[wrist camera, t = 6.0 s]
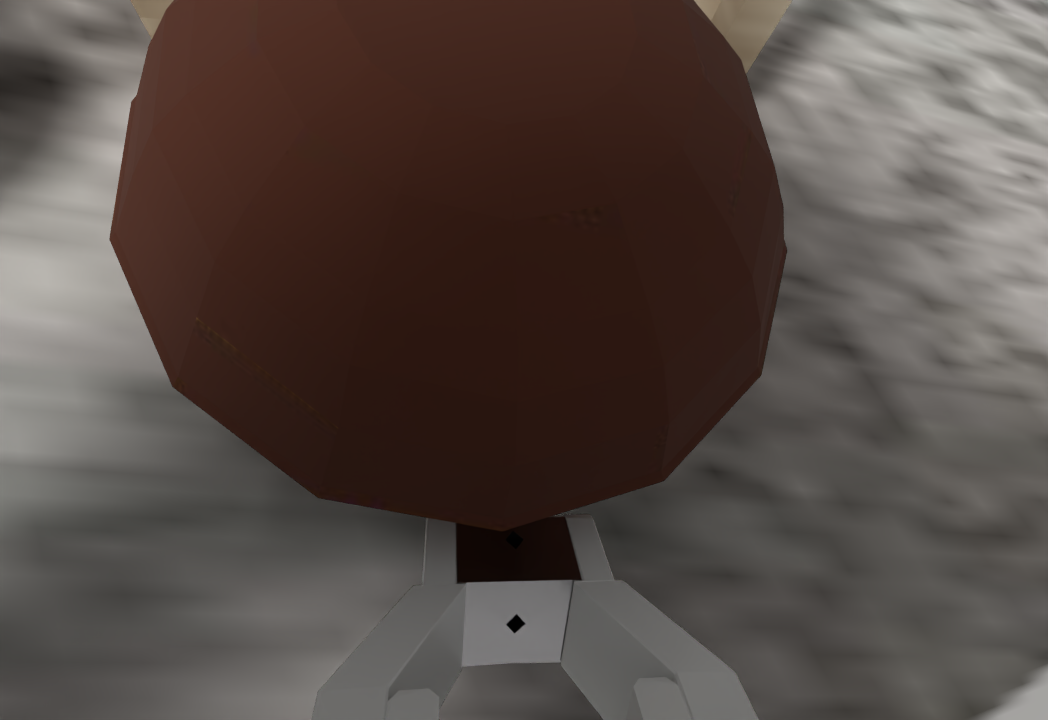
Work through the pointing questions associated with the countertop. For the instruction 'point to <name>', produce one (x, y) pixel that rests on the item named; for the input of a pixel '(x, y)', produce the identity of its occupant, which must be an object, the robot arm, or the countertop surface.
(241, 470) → the countertop surface
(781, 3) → the tunnel
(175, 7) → the muffin
